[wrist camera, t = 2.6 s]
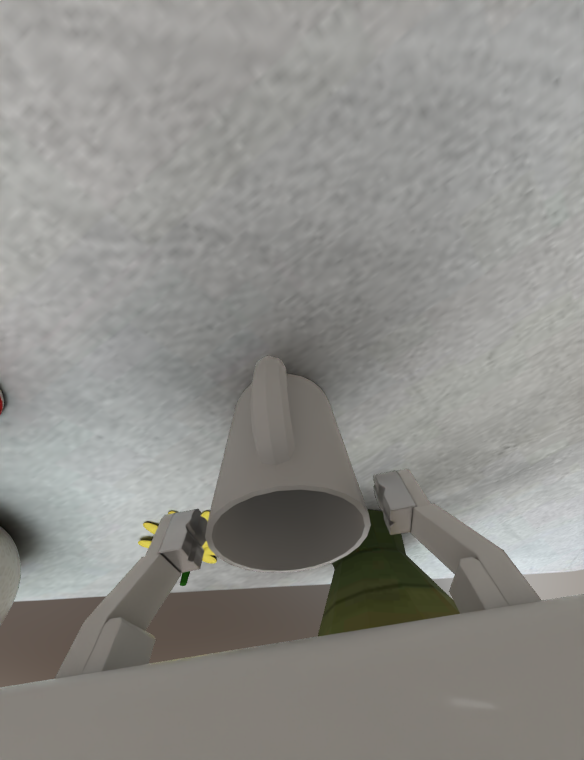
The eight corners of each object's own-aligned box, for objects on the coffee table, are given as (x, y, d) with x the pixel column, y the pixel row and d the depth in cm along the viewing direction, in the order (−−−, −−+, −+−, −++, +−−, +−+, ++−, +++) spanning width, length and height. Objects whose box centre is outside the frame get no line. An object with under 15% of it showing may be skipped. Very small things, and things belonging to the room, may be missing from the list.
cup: (247, 450, 20) (230, 580, 12) (212, 340, 15) (142, 446, 7) (330, 438, 20) (367, 561, 12) (324, 324, 14) (380, 412, 7)
